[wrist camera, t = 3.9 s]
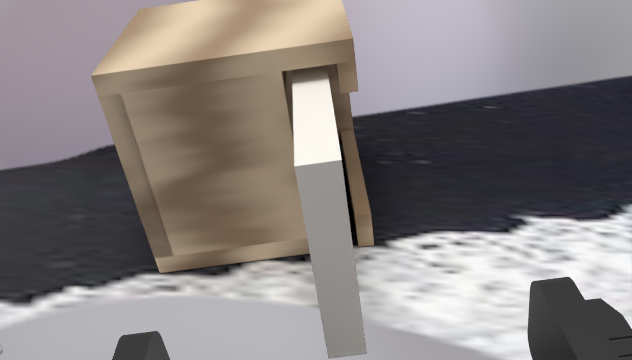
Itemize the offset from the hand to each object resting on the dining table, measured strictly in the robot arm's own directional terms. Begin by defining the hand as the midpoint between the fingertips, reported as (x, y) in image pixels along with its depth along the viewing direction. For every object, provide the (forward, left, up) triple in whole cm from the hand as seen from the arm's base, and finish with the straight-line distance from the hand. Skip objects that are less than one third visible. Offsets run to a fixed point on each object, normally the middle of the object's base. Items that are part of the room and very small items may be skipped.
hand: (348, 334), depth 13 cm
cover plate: (0, +14, -10) cm, 17 cm away
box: (-5, +20, -10) cm, 23 cm away
